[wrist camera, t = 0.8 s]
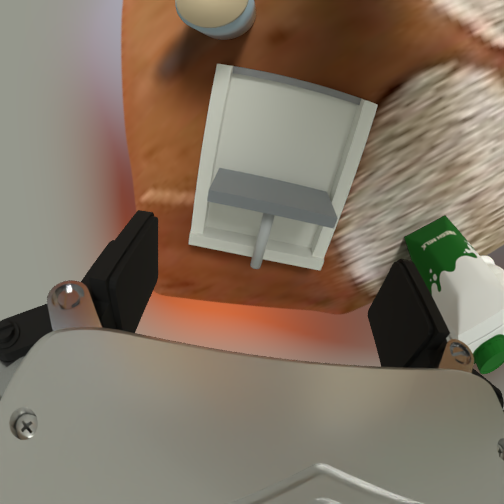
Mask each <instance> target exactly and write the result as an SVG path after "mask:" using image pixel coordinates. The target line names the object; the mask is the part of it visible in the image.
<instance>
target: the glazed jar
mask: <svg viewBox="0 0 504 504" xmlns="http://www.w3.org/2000/svg"><path fill="white" fill-rule="evenodd" d="M176 10H177V13H178V15H179V17H180V18H181V20H182V21H183V22H184V23H186V24H187V25H188V26H190V27H192V28H194V29H196V30H198V31H200V32H201V33H203V34H205V35H207V36H209V37H211V38H214V39H219V40H228V39H233V38H236V37H239V36H241V35H243V34H244V33H246V32H247V31H248V30H249V29H250V28H251V26H252V25H253V23H254V21H255V18H256V6H255V2H254V0H176Z"/></svg>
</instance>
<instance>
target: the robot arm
mask: <svg viewBox="0 0 504 504" xmlns="http://www.w3.org/2000/svg"><path fill="white" fill-rule="evenodd" d="M157 279H158V218H157V217H154V214H153V212H146V211H140V210H138V211H137V212H136V214H135V215H134V216H133V218H132V219H131V220H130V221H129V223H128V224H127V225H126V226H125V228H124V229H123V230H122V232H121V233H120V234H119V236H118V237H117V238H116V239H115V240H112V241H111V242H110V243H109V244H108V245H107V246H106V248H105V249H104V250H103V252H102V253H101V254H100V256H99V257H98V258H97V260H96V261H95V263H94V264H93V265H92V267H91V268H90V270H89V271H88V272H87V274H86V275H85V277H84V278H83V280H82V281H81V282H79V281H73V280H69V281H64V282H61V283H59V284H57V285H56V286H54V287H53V288H52V289H51V290H50V292H49V294H48V296H47V304H45V305H42V306H40V307H37V308H34V309H31V310H28V311H26V312H23V313H20V314H17V315H15V316H12V317H9V318H6V319H4V320H2V321H0V504H504V410H503V404H504V402H503V397H502V393H501V391H500V390H499V389H498V388H496V387H495V386H494V385H492V384H491V383H490V382H489V381H488V380H487V379H486V378H484V377H483V376H482V375H480V374H479V373H478V372H477V371H476V370H474V369H473V364H474V357H473V354H472V352H471V350H470V349H469V347H468V346H467V345H466V344H465V343H464V342H462V341H460V340H457V339H451V340H449V341H448V342H447V339H446V338H447V337H448V335H449V334H450V332H449V329H448V327H447V325H446V323H445V321H444V319H443V317H442V315H441V313H440V311H439V309H438V307H437V305H436V303H435V301H434V299H433V297H432V295H431V293H430V291H429V289H428V288H427V286H426V284H425V282H424V280H423V278H422V277H421V275H420V273H419V271H418V269H417V268H416V266H415V264H414V263H413V262H412V261H408V260H404V259H399V260H398V261H397V262H394V264H393V265H392V267H391V269H390V271H389V273H388V275H387V277H386V279H385V281H384V283H383V284H382V286H381V288H380V290H379V292H378V294H377V296H376V297H375V299H374V301H373V303H372V305H371V306H370V308H369V311H368V318H369V322H370V326H371V329H372V333H373V336H374V340H375V344H376V347H377V351H378V355H379V358H380V362H381V367H374V366H357V365H341V364H329V363H318V362H307V361H298V360H289V359H281V358H273V357H265V356H258V355H250V354H244V353H237V352H230V351H225V350H219V349H213V348H207V347H201V346H197V345H191V344H186V343H181V342H176V341H170V340H165V339H161V338H156V337H151V336H146V335H141V334H136V333H135V331H136V329H137V326H138V324H139V321H140V319H141V317H142V314H143V312H144V310H145V307H146V305H147V303H148V301H149V298H150V296H151V294H152V292H153V289H154V287H155V285H156V283H157Z"/></svg>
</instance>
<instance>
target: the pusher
mask: <svg viewBox="0 0 504 504" xmlns="http://www.w3.org/2000/svg"><path fill="white" fill-rule="evenodd" d="M207 202H213V203H218V204H223V205H228V206H233V207H238V208H243V209H247V210H252V211H257V212H262V213H263V216H262V220H261V224H260V228H259V232H258V236H257V240H256V244H255V248H254V252H253V256H252V260H251V264H250V266H251V267H252V268H254V269H259V268H260V267H261V263H262V260H263V256H264V253H265V249H266V246H267V242H268V238H269V235H270V231H271V227H272V224H273V220H274V217H275V215H276V216H280V217H285V218H290V219H294V220H298V221H303V222H307V223H312V224H316V225H320V226H325V227H329V228H333V229H334V227H335V224H336V221H337V219H338V218H337V215H336V213H335V210H334V208H333V205H332V203H331V200H330V198H329V196H328V193H327V192H326V191H322V190H318V189H314V188H310V187H306V186H302V185H297V184H293V183H289V182H285V181H280V180H276V179H271V178H267V177H262V176H258V175H253V174H248V173H243V172H238V171H233V170H228V169H223V168H219V170H218V172H217V174H216V176H215V178H214V180H213V182H212V184H211V186H210V188H209V191H208V198H207Z"/></svg>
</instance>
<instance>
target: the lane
mask: <svg viewBox="0 0 504 504" xmlns="http://www.w3.org/2000/svg"><path fill="white" fill-rule="evenodd" d="M377 106H378V104H375V103H372V102H370V101H367V100H364V99H361V98H358V97H355V96H352V95H349V94H346V93H343V92H340V91H337V90H334V89H331V88H327V87H324V86H320V85H317V84H313V83H310V82H306V81H302V80H298V79H294V78H290V77H286V76H282V75H277V74H273V73H268V72H263V71H258V70H253V69H248V68H242V67H236V66H230V65H224V64H217V67H216V72H215V77H214V82H213V87H212V92H211V98H210V103H209V109H208V114H207V120H206V126H205V132H204V138H203V144H202V151H201V157H200V164H199V171H198V178H197V185H196V193H195V201H194V209H193V217H192V226H191V232H190V236H189V244H190V245H195V246H200V247H205V248H210V249H215V250H220V251H225V252H230V253H234V254H239V255H244V256H249V257H252V256H253V252H254V248H255V244H256V240H257V236H258V232H259V228H260V224H261V220H262V216H263V213H262V212H257V211H252V210H247V209H243V208H238V207H233V206H228V205H223V204H218V203H213V202H207V198H208V191H209V188H210V186H211V184H212V182H213V180H214V178H215V176H216V174H217V172H218V170H219V168H223V169H228V170H233V171H238V172H243V173H248V174H253V175H258V176H262V177H267V178H271V179H276V180H280V181H285V182H289V183H293V184H297V185H302V186H306V187H310V188H314V189H318V190H322V191H326V192H327V193H328V196H329V198H330V200H331V203H332V205H333V208H334V210H335V213H336V215H337V218H338V219H337V221H336V224H335V227H334V229H333V228H329V227H325V226H320V225H316V224H312V223H307V222H303V221H298V220H294V219H290V218H285V217H280V216H276V215H275V217H274V220H273V224H272V227H271V231H270V235H269V238H268V242H267V246H266V249H265V253H264V256H263V259H264V260H269V261H274V262H279V263H284V264H289V265H294V266H299V267H305V268H310V269H315V270H321V268H322V265H323V263H324V256H325V254H326V251H327V249H328V246H329V244H330V241H331V239H332V236H333V233H334V231H335V228H336V226H337V223H338V220H339V218H340V215H341V213H342V210H343V207H344V205H345V202H346V199H347V196H348V194H349V191H350V188H351V185H352V182H353V180H354V177H355V174H356V171H357V168H358V165H359V162H360V159H361V156H362V153H363V150H364V147H365V144H366V141H367V138H368V135H369V132H370V129H371V126H372V122H373V119H374V116H375V113H376V109H377Z"/></svg>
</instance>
